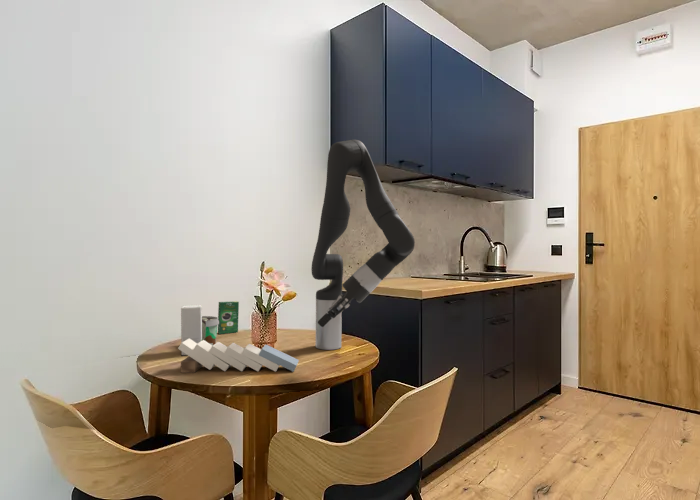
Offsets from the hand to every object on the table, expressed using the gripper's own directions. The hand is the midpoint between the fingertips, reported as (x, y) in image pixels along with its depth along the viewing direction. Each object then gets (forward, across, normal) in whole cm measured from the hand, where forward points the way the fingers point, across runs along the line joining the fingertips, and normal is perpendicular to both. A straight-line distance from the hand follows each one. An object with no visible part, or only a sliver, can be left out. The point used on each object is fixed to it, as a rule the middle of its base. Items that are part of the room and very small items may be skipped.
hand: (319, 324), depth 126 cm
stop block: (+35, 0, -17) cm, 39 cm away
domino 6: (+13, 0, +4) cm, 14 cm away
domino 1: (+30, 0, -13) cm, 33 cm away
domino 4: (+20, 0, -3) cm, 21 cm away
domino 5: (+17, 0, 0) cm, 17 cm away
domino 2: (+27, 0, -10) cm, 29 cm away
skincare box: (+41, -20, -22) cm, 50 cm away
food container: (+39, -30, -20) cm, 53 cm away
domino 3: (+24, 0, -6) cm, 24 cm away
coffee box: (+39, -54, -20) cm, 69 cm away
